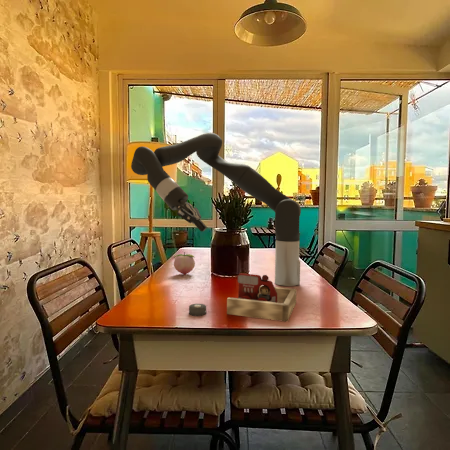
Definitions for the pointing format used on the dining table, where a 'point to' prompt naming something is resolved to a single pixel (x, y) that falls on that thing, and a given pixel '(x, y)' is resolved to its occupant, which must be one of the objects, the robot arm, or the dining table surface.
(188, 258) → the decorative fruit
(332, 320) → the dining table surface
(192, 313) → the spare wheel
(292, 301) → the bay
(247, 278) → the toy fire truck
